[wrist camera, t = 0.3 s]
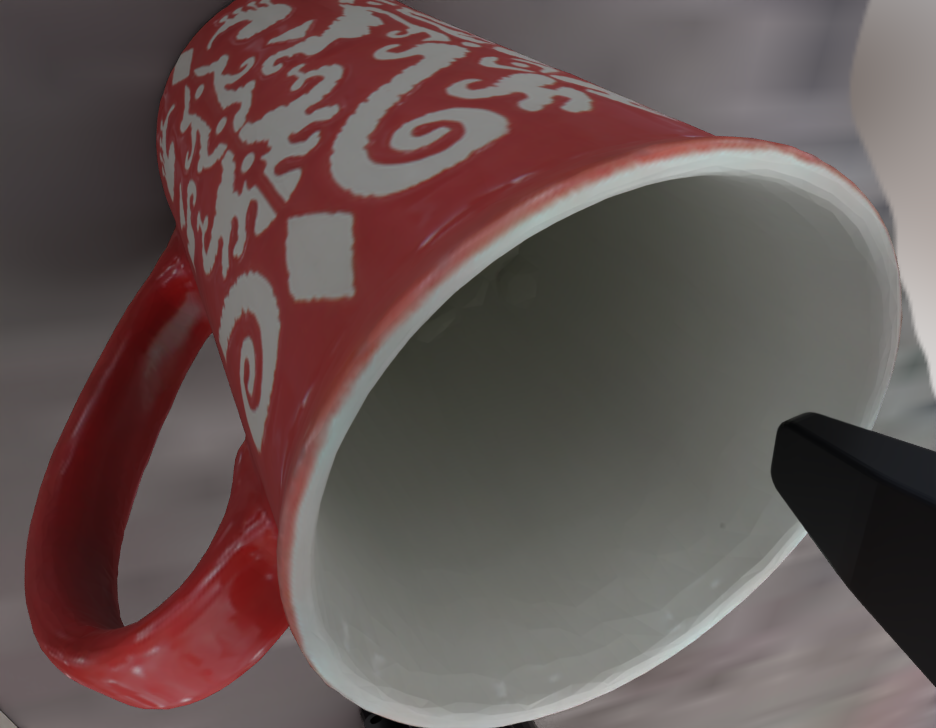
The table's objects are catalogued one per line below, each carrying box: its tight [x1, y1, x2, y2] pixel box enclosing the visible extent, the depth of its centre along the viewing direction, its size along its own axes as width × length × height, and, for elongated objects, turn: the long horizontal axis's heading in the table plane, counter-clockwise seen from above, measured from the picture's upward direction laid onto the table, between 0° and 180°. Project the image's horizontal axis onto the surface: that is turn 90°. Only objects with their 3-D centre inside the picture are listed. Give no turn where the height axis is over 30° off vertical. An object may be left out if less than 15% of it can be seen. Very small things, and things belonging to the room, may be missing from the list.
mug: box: [25, 0, 902, 728], centre depth 16 cm, size 13×9×14 cm
